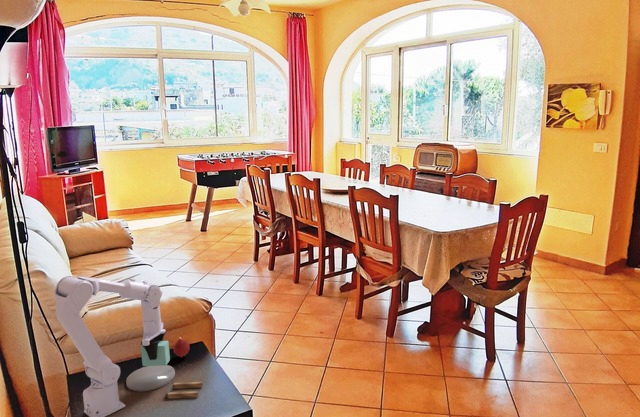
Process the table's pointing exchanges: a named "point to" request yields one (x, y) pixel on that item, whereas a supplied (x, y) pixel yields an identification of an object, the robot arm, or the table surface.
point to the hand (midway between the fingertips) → (155, 356)
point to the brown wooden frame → (182, 394)
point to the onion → (181, 347)
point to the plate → (150, 378)
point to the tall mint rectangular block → (162, 355)
